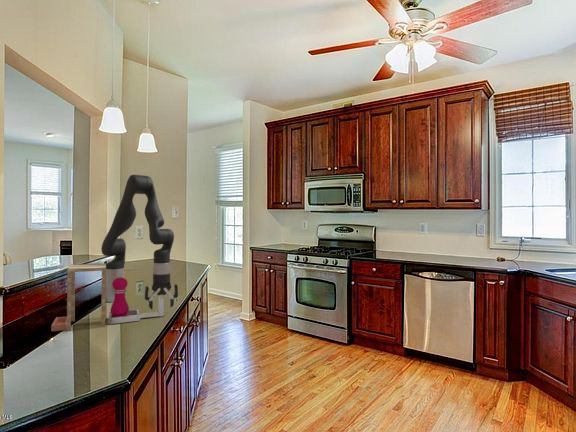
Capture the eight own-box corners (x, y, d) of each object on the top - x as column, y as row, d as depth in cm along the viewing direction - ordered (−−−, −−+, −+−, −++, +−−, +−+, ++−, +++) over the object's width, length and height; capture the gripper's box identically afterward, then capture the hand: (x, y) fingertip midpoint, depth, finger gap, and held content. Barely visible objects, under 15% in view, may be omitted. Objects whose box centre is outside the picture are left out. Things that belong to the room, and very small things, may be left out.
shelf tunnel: (71, 320, 154) (71, 264, 155) (105, 317, 160) (106, 263, 160) (67, 330, 141) (67, 269, 141) (104, 326, 146) (105, 267, 147)
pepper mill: (132, 318, 158) (132, 273, 158) (119, 323, 151) (119, 276, 151) (119, 317, 160) (120, 272, 160) (106, 321, 154) (106, 274, 154)
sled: (109, 317, 159) (109, 299, 159) (161, 311, 168) (161, 294, 168) (108, 324, 149) (109, 304, 149) (164, 317, 159) (164, 299, 159)
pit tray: (56, 323, 151) (56, 317, 151) (69, 321, 153) (69, 316, 153) (51, 331, 140) (51, 325, 140) (66, 329, 142) (66, 323, 142)
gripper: (176, 270, 170) (176, 304, 170) (144, 272, 164) (144, 307, 164) (179, 272, 163) (178, 308, 163) (145, 274, 157) (145, 311, 157)
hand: (161, 308), depth 163 cm, fingers open, 8 cm apart
